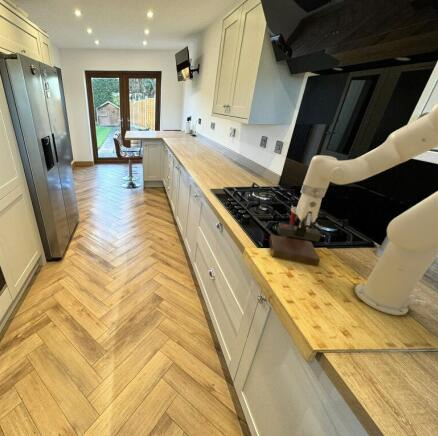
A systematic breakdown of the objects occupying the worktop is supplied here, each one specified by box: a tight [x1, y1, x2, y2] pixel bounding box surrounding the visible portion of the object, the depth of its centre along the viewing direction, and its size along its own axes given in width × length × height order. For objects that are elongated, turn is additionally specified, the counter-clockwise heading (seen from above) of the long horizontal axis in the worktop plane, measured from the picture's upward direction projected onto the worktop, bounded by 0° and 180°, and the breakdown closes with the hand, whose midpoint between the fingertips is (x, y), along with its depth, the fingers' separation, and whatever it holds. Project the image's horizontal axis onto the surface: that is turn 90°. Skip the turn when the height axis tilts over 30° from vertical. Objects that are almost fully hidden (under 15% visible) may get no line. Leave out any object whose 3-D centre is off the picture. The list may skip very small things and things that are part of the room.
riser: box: [268, 234, 321, 267], centre depth 98 cm, size 16×14×3 cm
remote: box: [276, 222, 322, 243], centre depth 94 cm, size 14×5×3 cm, turn 70°
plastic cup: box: [289, 207, 318, 228], centre depth 110 cm, size 11×11×12 cm
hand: (297, 232), depth 94 cm, fingers closed on remote, 5 cm apart
